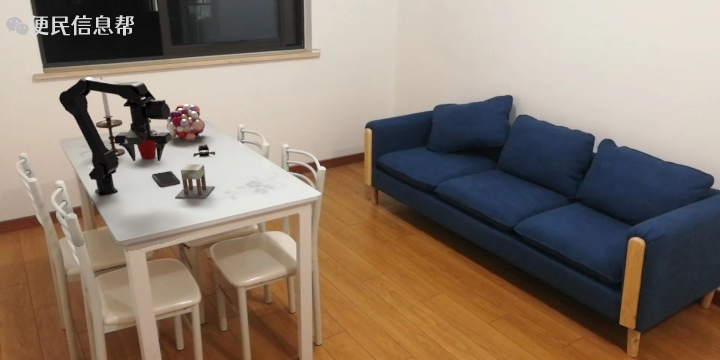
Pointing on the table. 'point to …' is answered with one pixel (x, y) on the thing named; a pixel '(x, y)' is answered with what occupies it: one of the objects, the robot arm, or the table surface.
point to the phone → (165, 179)
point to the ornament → (185, 122)
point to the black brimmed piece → (203, 152)
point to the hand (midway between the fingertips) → (146, 160)
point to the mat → (194, 193)
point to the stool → (193, 177)
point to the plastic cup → (148, 148)
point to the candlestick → (110, 125)
